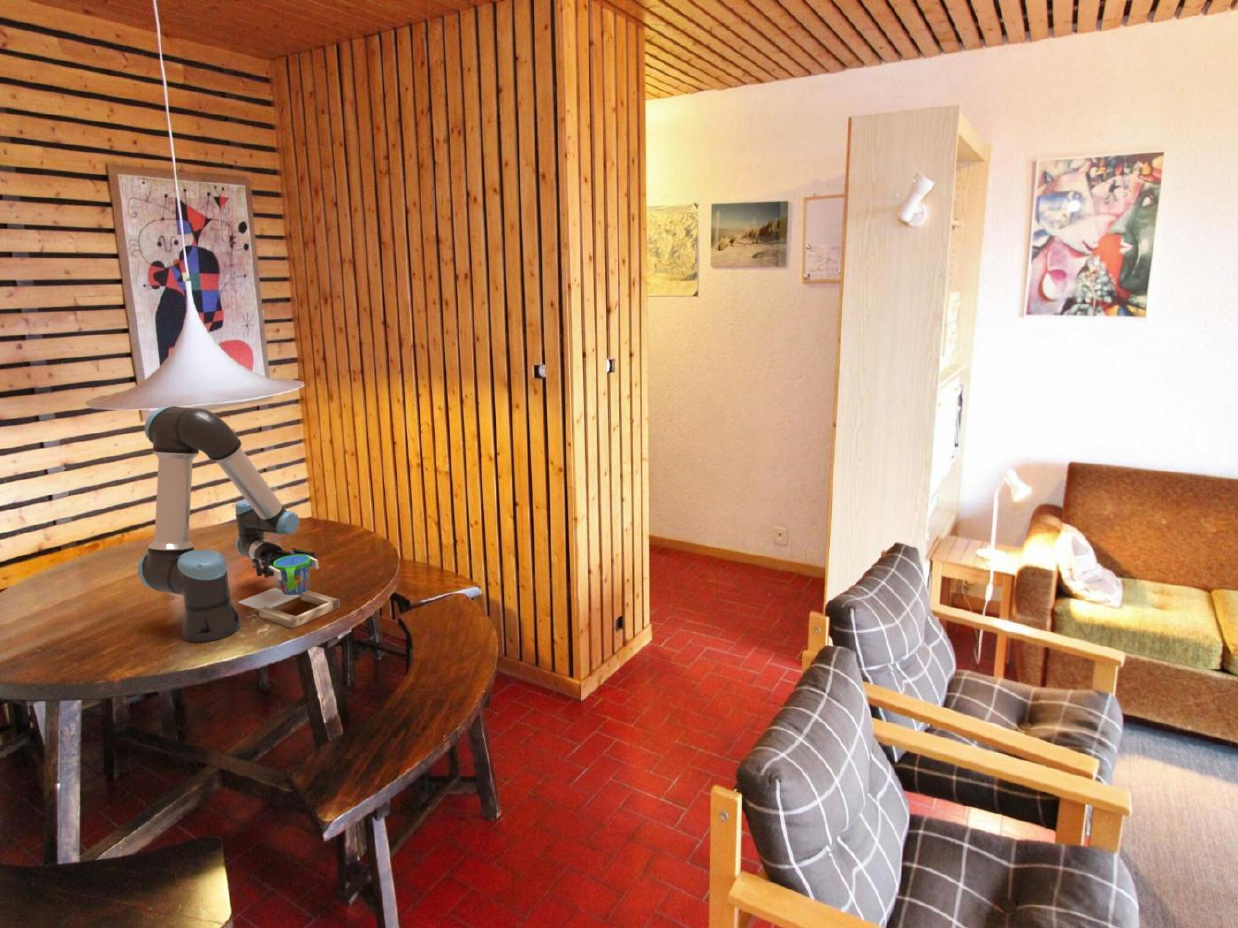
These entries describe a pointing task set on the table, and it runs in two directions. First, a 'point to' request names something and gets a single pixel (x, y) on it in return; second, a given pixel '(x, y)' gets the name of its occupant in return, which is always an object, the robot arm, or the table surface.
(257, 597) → the grey mat
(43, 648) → the table surface
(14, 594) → the table surface
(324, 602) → the wooden frame
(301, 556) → the snack cup
